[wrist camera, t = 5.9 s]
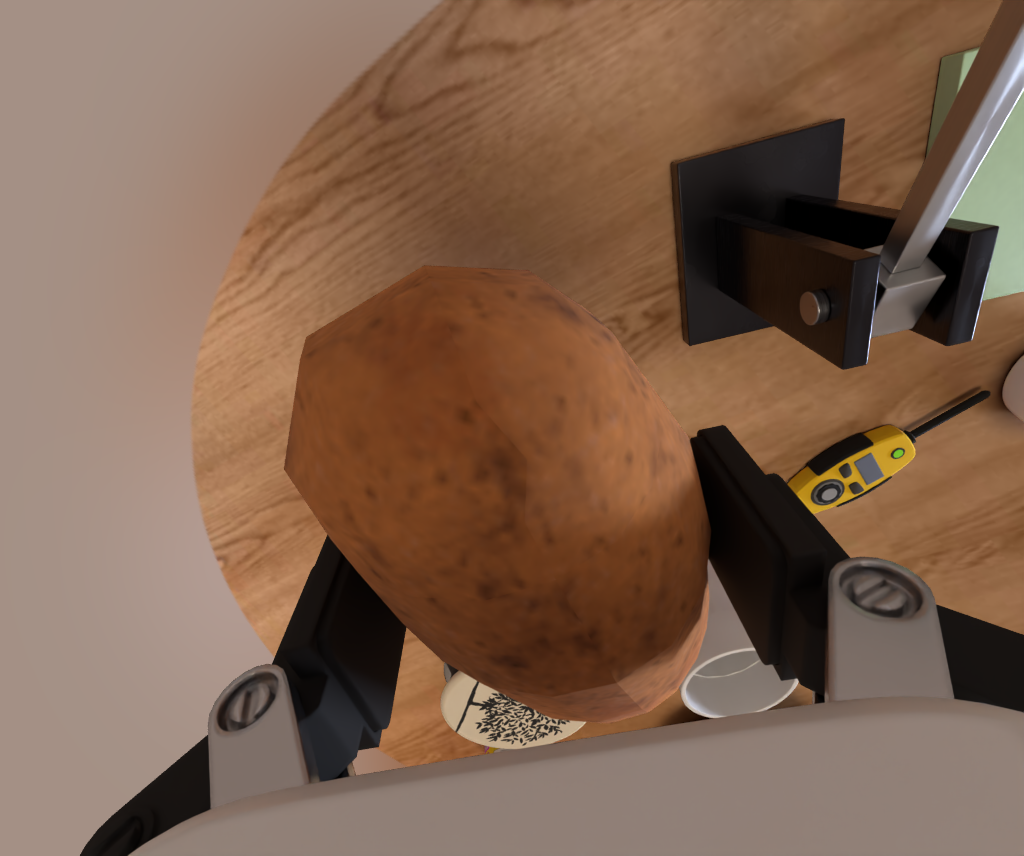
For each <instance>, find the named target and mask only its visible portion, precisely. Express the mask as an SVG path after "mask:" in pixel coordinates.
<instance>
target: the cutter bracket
mask: <svg viewBox="0 0 1024 856" xmlns="http://www.w3.org/2000/svg"><path fill="white" fill-rule="evenodd" d="M844 123H845V119H844V118H840V119H830V120H826V121H823V122H819V123H815V124H812V125H808V126H804V127H801V128H797V129H793V130H790V131H786V132H782V133H779V134H775V135H771V136H767V137H764V138H760V139H756V140H753V141H749V142H745V143H742V144H738V145H734V146H731V147H727V148H723V149H719V150H716V151H712V152H708V153H705V154H701V155H697V156H694V157H690V158H686V159H683V160H679V161H675V162H672V163H671V171H672V185H673V199H674V213H675V227H676V241H677V255H678V270H679V284H680V298H681V312H682V326H683V340H684V341H685V342H686V343H687V344H688V345H689V346H692V345H696V344H700V343H704V342H709V341H713V340H717V339H721V338H725V337H730V336H734V335H738V334H742V333H747V332H751V331H755V330H759V329H763V328H768V327H772V326H775V327H777V328H778V329H780V330H781V331H783V332H785V333H786V334H788V335H789V336H791V337H792V338H794V339H795V340H797V341H799V342H800V343H802V344H803V345H805V346H806V347H808V348H809V349H811V350H813V351H814V352H816V353H817V354H819V355H820V356H822V357H823V358H825V359H826V360H828V361H830V362H831V363H833V364H834V365H836V366H837V367H839V368H840V369H843V370H845V369H849V368H854V367H858V366H863V365H866V364H867V362H868V354H869V346H870V339H871V331H872V324H873V316H874V308H875V301H876V293H877V286H878V278H879V270H880V263H881V255H880V254H876V253H873V252H869V251H866V250H864V249H868V248H872V247H876V246H880V245H884V244H885V242H886V240H887V237H888V235H889V233H890V231H891V229H892V227H893V225H894V223H895V221H896V219H897V217H898V215H899V213H900V211H901V210H897V209H891V208H885V207H878V206H872V205H866V204H860V203H854V202H847V201H841V200H838V194H839V182H840V170H841V158H842V146H843V134H844ZM998 232H999V226H996V225H990V224H984V223H978V222H972V221H965V220H959V219H953V218H949V219H948V221H947V223H946V224H945V226H944V228H943V229H942V231H941V233H940V235H939V236H938V238H937V240H936V241H935V243H934V245H933V247H932V248H931V250H930V252H929V253H928V255H927V256H928V257H929V258H930V259H931V260H932V261H933V262H934V263H935V264H936V265H937V266H938V267H939V268H940V269H941V270H942V271H943V272H944V273H945V274H946V278H945V279H944V281H943V282H942V284H941V285H940V287H939V288H938V290H937V292H936V293H935V295H934V296H933V298H932V299H931V301H930V302H929V304H928V305H927V307H926V309H925V310H924V312H923V313H922V315H921V316H920V318H919V319H918V321H917V322H916V324H915V326H914V327H913V328H911V329H909V330H911V331H913V332H916V333H918V334H920V335H922V336H925V337H927V338H929V339H931V340H934V341H936V342H938V343H940V344H943V345H945V346H951V345H955V344H960V343H964V342H969V341H971V340H972V339H973V335H974V331H975V327H976V323H977V319H978V314H979V310H980V306H981V302H982V298H983V294H984V290H985V286H986V281H987V277H988V273H989V269H990V265H991V261H992V257H993V252H994V248H995V244H996V240H997V236H998Z"/></svg>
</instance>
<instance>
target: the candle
mask: <svg viewBox="0 0 1024 856" xmlns="http://www.w3.org/2000/svg"><path fill="white" fill-rule="evenodd" d="M1002 396H1003V401H1004V403H1005V405H1006V407H1007V408H1008V409H1009V410H1010V411H1011V412H1012V413H1013V414H1014V415H1015V416H1016V417H1017V418H1019V419H1020V420H1021V421H1022V422H1023V423H1024V355H1023V356H1022V357H1021V358H1020V359H1019V360H1018V361H1017V362H1016V364H1015V365H1014V366H1013V367H1012V369H1011V370H1010V372H1009V374H1008V375H1007V377H1006V380H1005V382H1004V386H1003V391H1002Z"/></svg>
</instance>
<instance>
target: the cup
mask: <svg viewBox="0 0 1024 856" xmlns="http://www.w3.org/2000/svg"><path fill="white" fill-rule="evenodd" d="M707 570H708V585H709V610H708V621H707V629H706V632H705V635H704V638H703V641H702V645H701V648H700V651H699V654H698V658H697V660H696V661H695V663H694V664H693V666H692V667H691V669H690V670H689V672H688V674H687V675H686V677H685V678H684V680H683V681H682V683H681V684H680V686H679V689H680V693H681V697H682V700H683V702H684V704H685V705H686V706H687V707H688V708H689V709H690V710H691V711H693V712H695V713H697V714H699V715H702V716H705V717H709V718H720V717H726V716H733V715H739V714H746V713H752V712H760V711H765V710H767V709H769V708H771V707H773V706H775V705H776V704H778V703H780V702H781V701H782V700H784V699H785V698H786V697H787V696H788V695H789V694H790V693H791V692H792V691H793V690H794V689H795V687H796V685H797V683H798V679H791V680H785V681H781V680H780V678H779V676H778V674H777V672H776V670H775V669H774V667H773V665H764V664H763V663H762V661H761V660H760V658H759V656H758V654H757V652H756V650H755V648H754V646H753V644H752V643H751V641H750V639H749V637H748V635H747V633H746V631H745V629H744V627H743V625H742V623H741V621H740V619H739V617H738V615H737V613H736V611H735V610H734V608H733V606H732V604H731V602H730V600H729V598H728V596H727V594H726V592H725V590H724V588H723V586H722V584H721V582H720V580H719V578H718V577H717V575H716V573H715V571H714V569H713V567H712V565H711V563H710V561H709V559H708V566H707Z"/></svg>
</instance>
